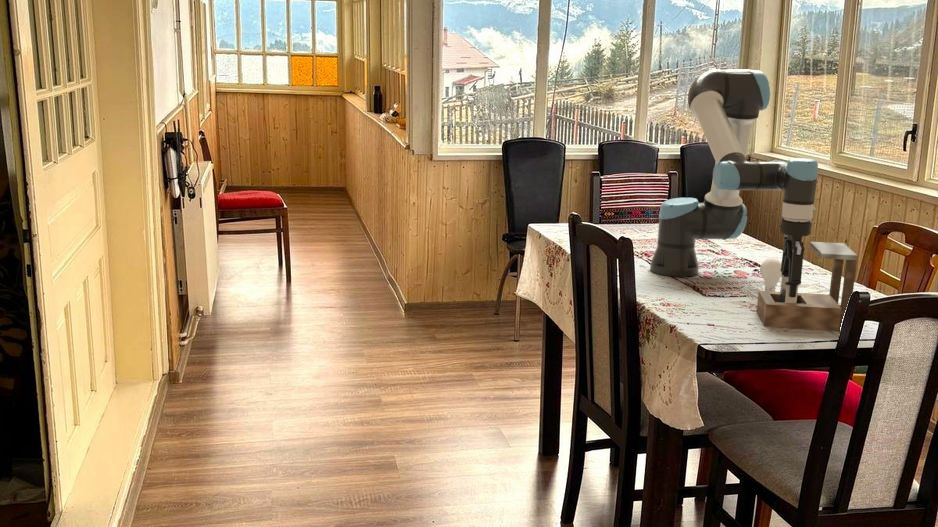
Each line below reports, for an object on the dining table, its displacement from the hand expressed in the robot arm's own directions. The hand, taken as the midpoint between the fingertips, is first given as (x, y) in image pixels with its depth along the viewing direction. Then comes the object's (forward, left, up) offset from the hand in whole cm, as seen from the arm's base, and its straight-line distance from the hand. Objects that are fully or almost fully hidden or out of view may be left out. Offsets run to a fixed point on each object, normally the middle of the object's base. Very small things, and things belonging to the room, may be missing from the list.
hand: (787, 304), depth 229 cm
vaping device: (0, 0, -5) cm, 5 cm away
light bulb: (0, +25, -5) cm, 25 cm away
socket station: (+4, 0, -4) cm, 6 cm away
